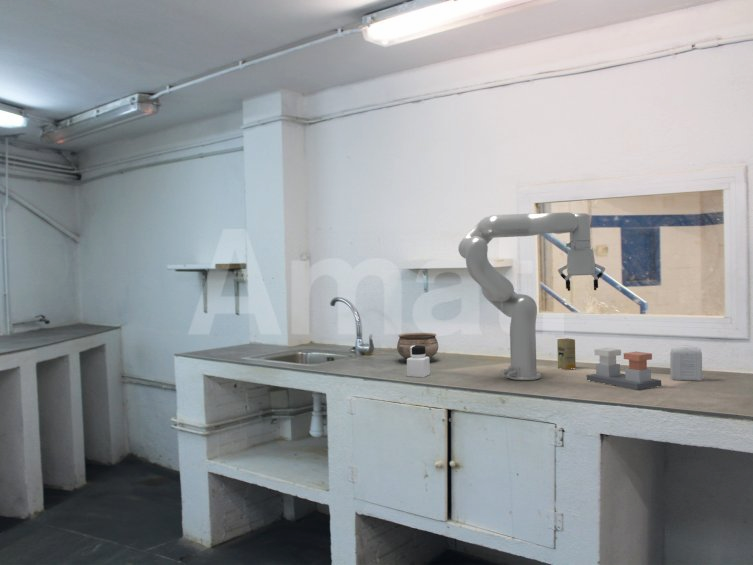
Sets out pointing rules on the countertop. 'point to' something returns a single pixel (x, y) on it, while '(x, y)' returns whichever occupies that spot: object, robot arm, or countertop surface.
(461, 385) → the countertop surface
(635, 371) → the block
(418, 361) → the medicine bottle
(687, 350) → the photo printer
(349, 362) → the countertop surface
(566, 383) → the countertop surface
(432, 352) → the cooking pot
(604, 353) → the white plunger
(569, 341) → the shoe polish box
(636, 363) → the salmon pink block
